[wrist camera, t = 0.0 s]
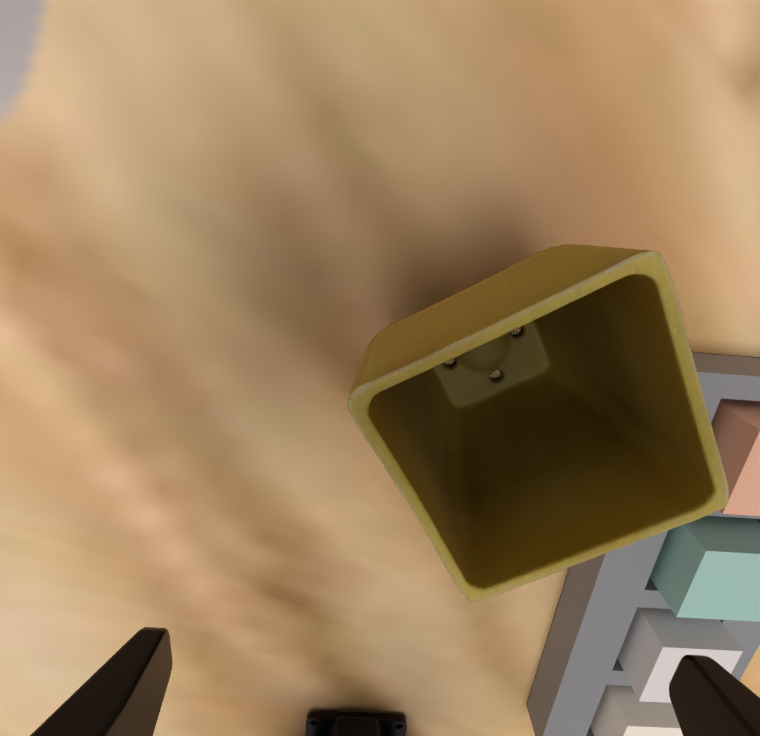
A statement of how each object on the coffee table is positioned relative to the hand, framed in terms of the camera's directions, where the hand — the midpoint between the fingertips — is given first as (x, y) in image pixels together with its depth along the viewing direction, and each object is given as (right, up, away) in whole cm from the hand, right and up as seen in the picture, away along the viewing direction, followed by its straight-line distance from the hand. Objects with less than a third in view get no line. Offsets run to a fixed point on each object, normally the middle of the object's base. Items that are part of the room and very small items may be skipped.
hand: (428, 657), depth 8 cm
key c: (+15, -4, +16) cm, 22 cm away
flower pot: (+4, +6, +14) cm, 15 cm away
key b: (+15, -9, +18) cm, 25 cm away
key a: (+14, -15, +21) cm, 29 cm away
